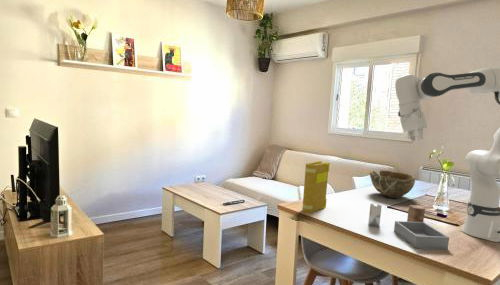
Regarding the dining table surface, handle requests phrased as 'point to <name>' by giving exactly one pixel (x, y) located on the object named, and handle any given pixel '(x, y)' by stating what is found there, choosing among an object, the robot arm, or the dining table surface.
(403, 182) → the bowl
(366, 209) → the dining table surface
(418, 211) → the walnut block
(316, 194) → the book
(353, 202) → the dining table surface
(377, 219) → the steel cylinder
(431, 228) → the tote
